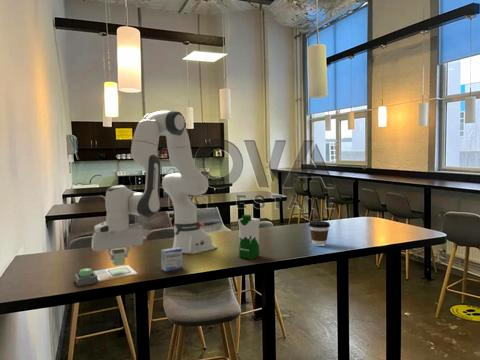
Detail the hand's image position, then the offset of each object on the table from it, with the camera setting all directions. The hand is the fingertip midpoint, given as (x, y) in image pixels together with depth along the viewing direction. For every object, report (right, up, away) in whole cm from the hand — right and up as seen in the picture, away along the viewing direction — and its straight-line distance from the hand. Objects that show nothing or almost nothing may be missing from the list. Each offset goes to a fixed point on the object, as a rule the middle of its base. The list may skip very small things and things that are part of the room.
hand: (118, 258), depth 152 cm
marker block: (0, -2, 0) cm, 2 cm away
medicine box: (+21, -6, +5) cm, 22 cm away
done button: (-9, -5, -10) cm, 14 cm away
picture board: (-2, -6, 0) cm, 6 cm away
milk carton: (+54, -4, +22) cm, 59 cm away
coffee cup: (+91, -2, +41) cm, 100 cm away
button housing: (-9, -7, -10) cm, 15 cm away
